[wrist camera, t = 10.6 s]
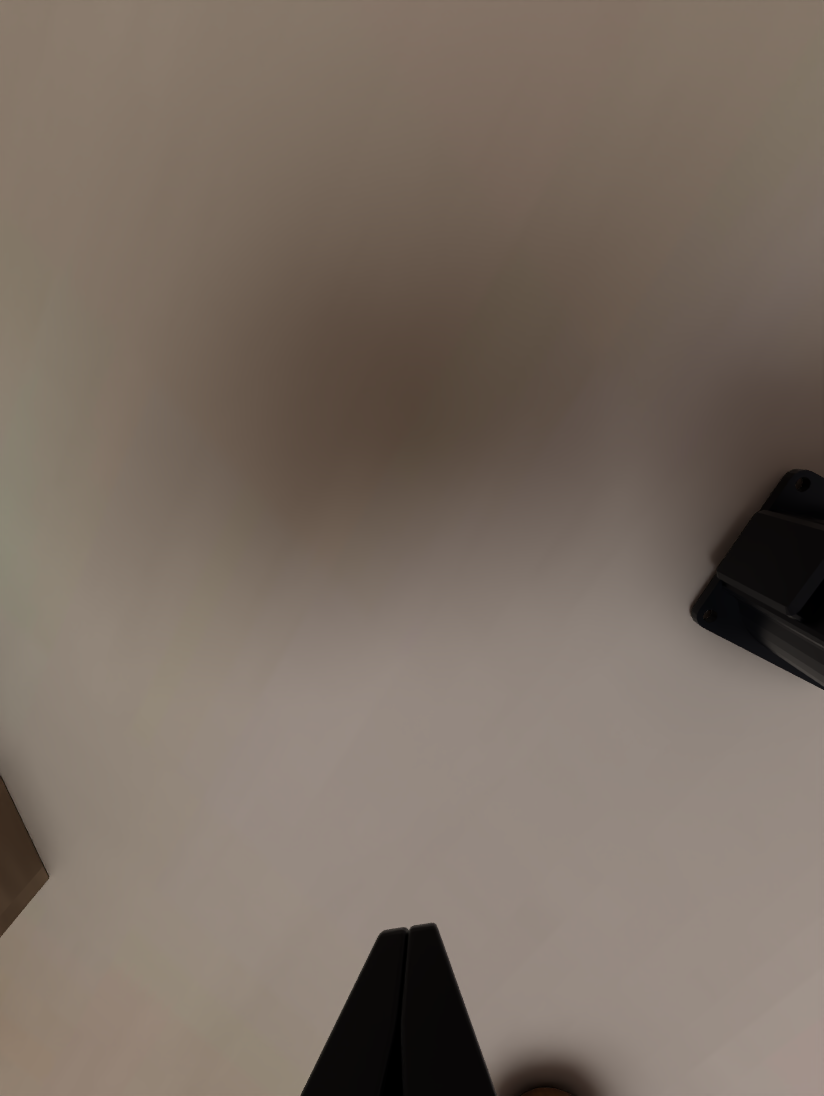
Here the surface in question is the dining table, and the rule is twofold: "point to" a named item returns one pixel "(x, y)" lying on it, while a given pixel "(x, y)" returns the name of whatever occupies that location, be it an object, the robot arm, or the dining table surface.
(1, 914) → the ramp frame
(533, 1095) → the wooden figurine
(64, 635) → the dining table surface
